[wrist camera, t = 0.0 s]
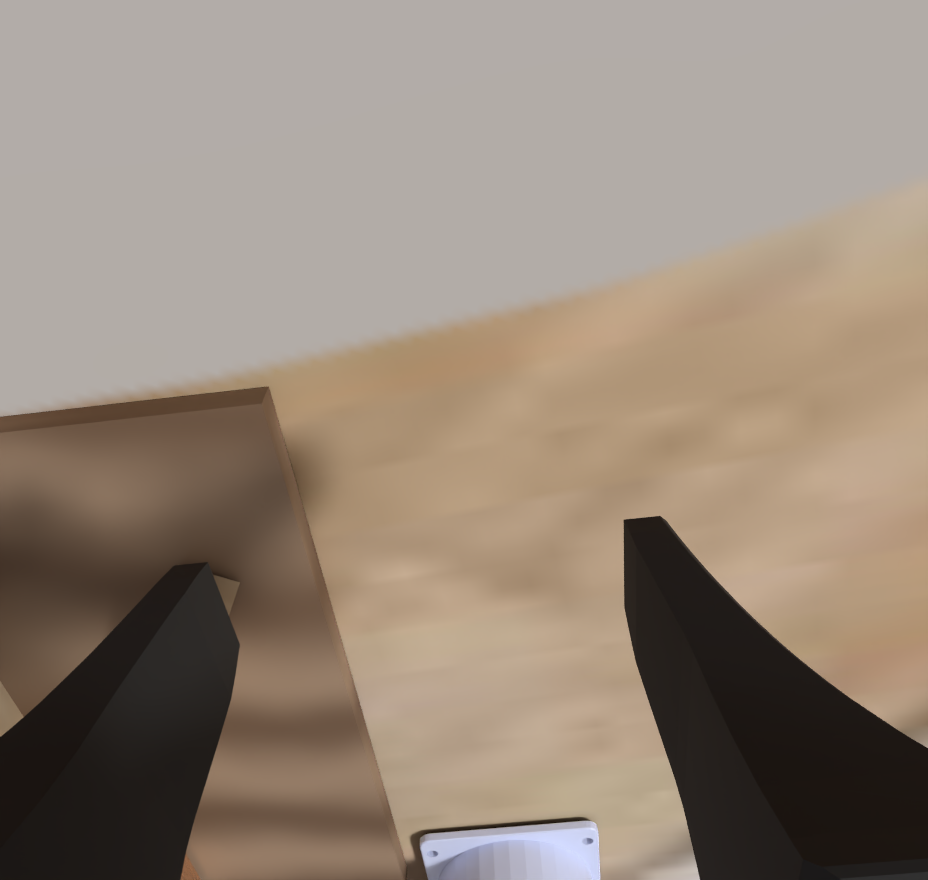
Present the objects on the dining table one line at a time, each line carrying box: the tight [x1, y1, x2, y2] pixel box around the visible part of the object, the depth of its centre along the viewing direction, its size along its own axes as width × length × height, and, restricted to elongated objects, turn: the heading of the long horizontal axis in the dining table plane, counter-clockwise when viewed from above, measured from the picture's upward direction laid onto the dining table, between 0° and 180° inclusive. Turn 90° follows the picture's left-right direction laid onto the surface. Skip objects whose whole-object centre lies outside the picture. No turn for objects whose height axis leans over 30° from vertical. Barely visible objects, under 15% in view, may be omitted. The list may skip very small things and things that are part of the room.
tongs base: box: [0, 387, 407, 880], centre depth 29 cm, size 26×18×4 cm
